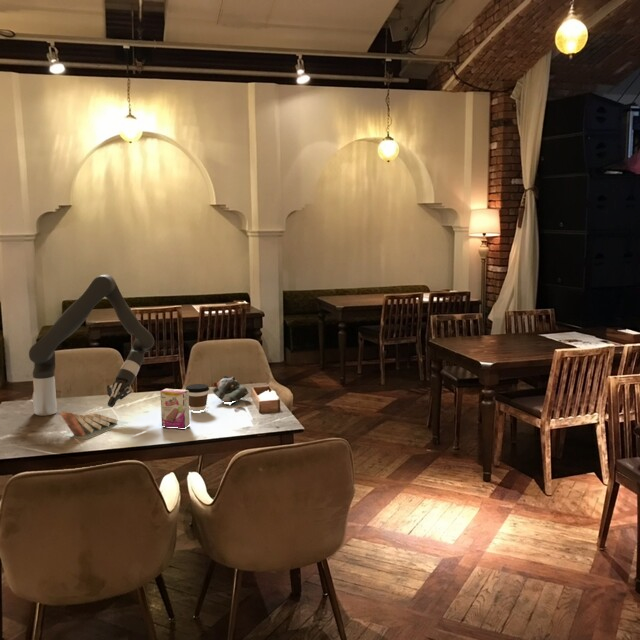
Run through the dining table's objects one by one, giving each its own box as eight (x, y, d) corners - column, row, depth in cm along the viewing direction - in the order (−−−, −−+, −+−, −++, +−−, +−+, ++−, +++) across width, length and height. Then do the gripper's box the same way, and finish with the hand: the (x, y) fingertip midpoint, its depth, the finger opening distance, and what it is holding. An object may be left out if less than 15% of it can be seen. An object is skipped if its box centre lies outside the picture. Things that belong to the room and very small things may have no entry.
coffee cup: (207, 415, 320) (206, 389, 318) (183, 415, 320) (182, 389, 319) (211, 408, 331) (211, 383, 329) (188, 408, 331) (187, 383, 329)
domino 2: (82, 431, 295) (66, 416, 286) (84, 428, 296) (68, 413, 287) (91, 433, 293) (75, 417, 284) (93, 429, 294) (77, 414, 285)
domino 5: (108, 422, 308) (89, 416, 298) (109, 418, 309) (90, 413, 298) (116, 423, 306) (98, 418, 296) (117, 420, 306) (99, 414, 296)
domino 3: (91, 428, 299) (73, 417, 290) (92, 424, 300) (74, 414, 290) (100, 429, 297) (82, 419, 288) (101, 426, 298) (84, 415, 288)
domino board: (63, 436, 290) (63, 435, 290) (108, 420, 313) (108, 418, 313) (85, 440, 285) (85, 439, 285) (129, 423, 308) (129, 422, 308)
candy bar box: (161, 428, 301) (159, 390, 298) (166, 424, 306) (165, 388, 303) (185, 430, 298) (183, 392, 295) (190, 426, 303) (189, 389, 300)
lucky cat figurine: (228, 407, 333) (214, 381, 333) (218, 411, 342) (205, 386, 343) (253, 393, 341) (239, 367, 341) (243, 397, 351) (229, 373, 351)
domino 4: (99, 425, 304) (81, 417, 294) (101, 421, 304) (82, 413, 294) (108, 426, 301) (90, 419, 291) (109, 423, 302) (91, 415, 292)
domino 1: (73, 434, 291) (60, 414, 284) (76, 432, 292) (63, 411, 285) (83, 436, 288) (69, 416, 281) (85, 433, 290) (72, 413, 282)
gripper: (112, 366, 314) (93, 399, 305) (135, 369, 308) (116, 403, 299) (120, 375, 320) (102, 408, 311) (143, 378, 314) (126, 412, 305)
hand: (109, 406), depth 305 cm, fingers closed
